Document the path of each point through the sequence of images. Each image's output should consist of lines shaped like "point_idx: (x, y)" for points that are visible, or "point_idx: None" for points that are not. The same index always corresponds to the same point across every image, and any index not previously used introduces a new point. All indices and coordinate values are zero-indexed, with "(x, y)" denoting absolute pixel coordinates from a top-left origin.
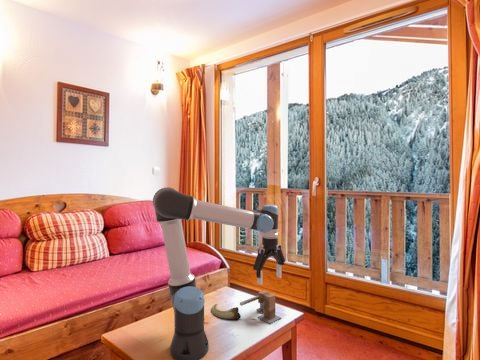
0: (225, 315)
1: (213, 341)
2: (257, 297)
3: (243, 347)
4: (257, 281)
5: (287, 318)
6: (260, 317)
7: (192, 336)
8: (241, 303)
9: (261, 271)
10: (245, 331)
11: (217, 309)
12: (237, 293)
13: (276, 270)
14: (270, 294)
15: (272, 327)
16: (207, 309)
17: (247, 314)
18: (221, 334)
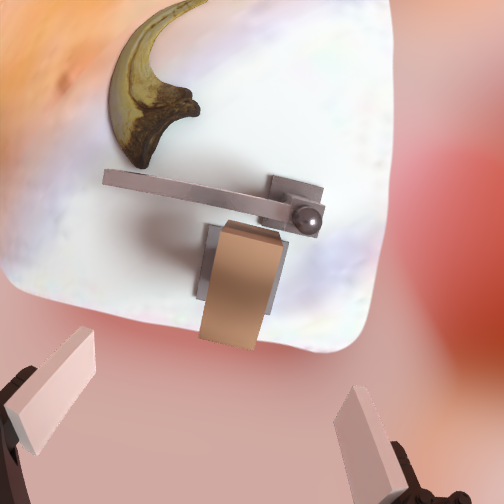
0: (115, 109)
1: (10, 198)
2: (236, 210)
3: (41, 290)
4: (71, 339)
5: (287, 330)
6: (211, 239)
7: None
8: (103, 183)
9: (26, 447)
10: (95, 244)
11: (150, 39)
12: (372, 11)
13: (369, 432)
14: (245, 320)
15: (183, 314)
16: (148, 7)
17: (209, 162)
18: (39, 188)
